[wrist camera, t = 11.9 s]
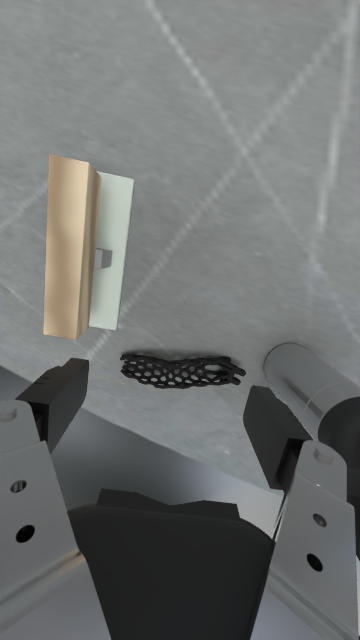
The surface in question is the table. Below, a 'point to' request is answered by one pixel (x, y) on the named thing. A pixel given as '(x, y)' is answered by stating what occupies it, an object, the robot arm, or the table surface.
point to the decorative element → (223, 376)
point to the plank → (70, 245)
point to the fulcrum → (110, 249)
